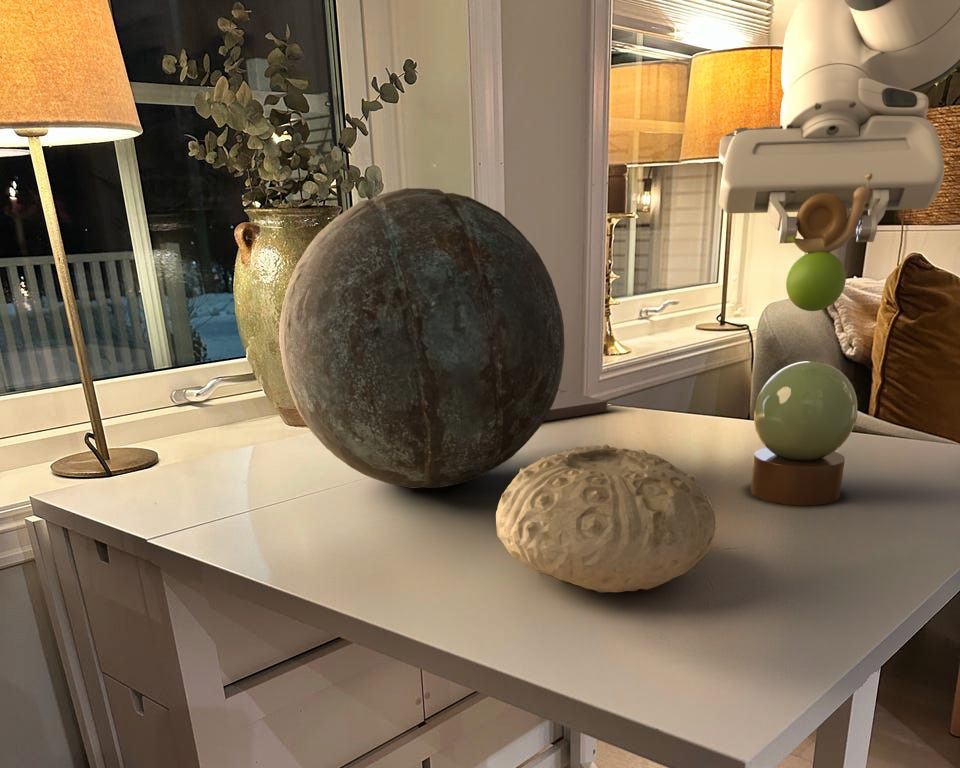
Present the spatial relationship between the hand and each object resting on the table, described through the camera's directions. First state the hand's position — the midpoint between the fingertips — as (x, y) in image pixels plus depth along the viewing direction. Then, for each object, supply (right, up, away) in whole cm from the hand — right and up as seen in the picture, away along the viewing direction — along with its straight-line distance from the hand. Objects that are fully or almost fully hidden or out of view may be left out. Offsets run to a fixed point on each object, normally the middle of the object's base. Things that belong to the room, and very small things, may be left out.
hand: (827, 238), depth 86 cm
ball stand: (+1, -22, +11) cm, 25 cm away
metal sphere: (-38, -20, +17) cm, 47 cm away
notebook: (-26, -4, +51) cm, 57 cm away
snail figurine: (0, -6, +3) cm, 7 cm away
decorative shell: (-22, -33, -9) cm, 41 cm away
